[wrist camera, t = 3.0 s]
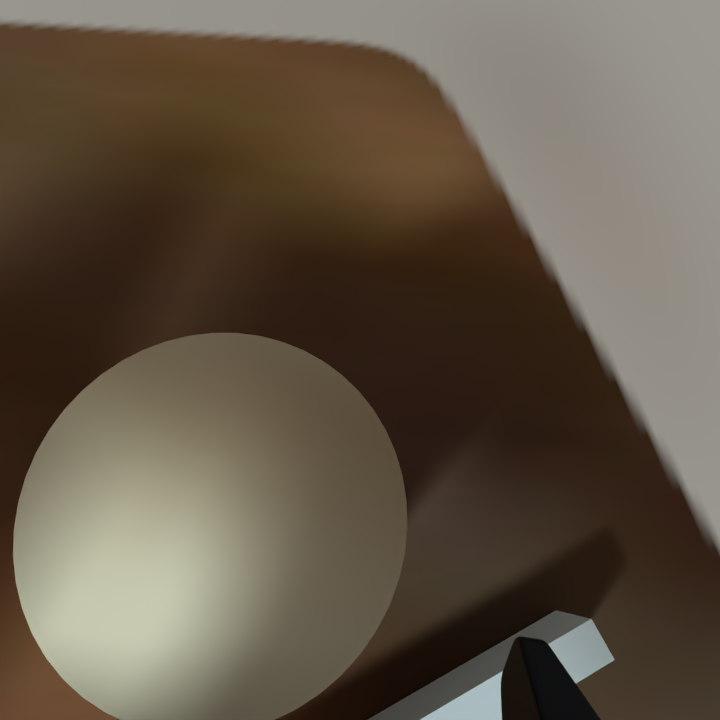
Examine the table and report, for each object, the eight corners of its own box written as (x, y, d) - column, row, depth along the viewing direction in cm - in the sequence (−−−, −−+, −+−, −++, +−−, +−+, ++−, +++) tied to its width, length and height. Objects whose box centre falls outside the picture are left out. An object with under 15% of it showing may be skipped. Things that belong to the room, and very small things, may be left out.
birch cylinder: (335, 660, 17) (334, 801, 7) (162, 598, 17) (-64, 650, 7) (391, 482, 18) (451, 396, 9) (231, 428, 18) (117, 287, 9)
